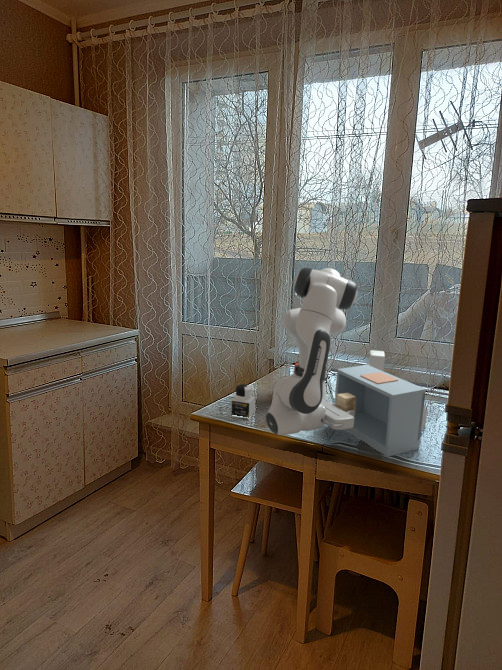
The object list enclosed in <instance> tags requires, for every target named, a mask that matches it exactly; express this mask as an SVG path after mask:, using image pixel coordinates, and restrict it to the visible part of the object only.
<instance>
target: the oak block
mask: <svg viewBox="0 0 502 670" xmlns="http://www.w3.org/2000/svg"><path fill="white" fill-rule="evenodd" d="M355 406H356V397H355V396H353V395H352V394H350V393H342V394H337V402H336V407H338V408H340V409H341V410H343V411H345V412H348V410H350V409H352V410H353V411H355ZM353 417H354V418H355V413H354V416H353ZM352 428H354V426H353V427H352ZM341 430H343V431H345V429H341Z"/></svg>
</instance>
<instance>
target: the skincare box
mask: <svg viewBox="0 0 502 670" xmlns="http://www.w3.org/2000/svg"><path fill="white" fill-rule="evenodd" d="M385 360H386V353H385V351H383V350H374V349H371V350H369V360H368V365H369V366H371V367H374V368H376V369H379V370H381V371H383V372H384V368H385Z"/></svg>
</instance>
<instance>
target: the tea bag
mask: <svg viewBox="0 0 502 670" xmlns="http://www.w3.org/2000/svg"><path fill="white" fill-rule="evenodd" d="M427 413H428V410H427V408H426V405H425V404H424V410H423V419H422V427H421V432H422V431H423V430H424V428H425V427H426V422H427Z"/></svg>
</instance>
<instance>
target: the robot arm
mask: <svg viewBox="0 0 502 670" xmlns="http://www.w3.org/2000/svg"><path fill="white" fill-rule="evenodd" d="M293 287H294V289H293V291H294V292H295V294H296V295H297V296H298V297H301V298H302V299H303V298H304V300H303V302H302V305H301V306H300V307H297V308H291V309H288V310H287V311H286V313H284V317H283V320H282V321H283V327H284V329H285V330H286V332H287V333H288V334H289V335H291V336H292V337H293V338H294V340H295V341H296V343H297V347H298V353H299V355H298V356H299V361H298V362H296V363H295V364H294V366H293V367H294V368H293V373H292V374H290V375H289V376H286V375H285V376H281V377H280V378H278V379H277V380H276V381H275V383H274V384H273V388H272V400H271V404H270V407H269V409H268V410H267V412H266V416H265V419H266V420H265V421H266V424H267V426H268V428H269V430H270V431H271V432H272V433H273V434H275V435H278V436H286V435H292V434H293V435H294V434H298V433H301V432H302V431H303V432H304V431H305V432H309V431H314V430H318V429H322V428H323V427H324V425H326V426H328V427H329V428H330V429H332V430H339V431H340V430H342V429H349V428H352V427H353V426H354V417H353V416H354V413H355V411H353V410H352V409H350V410H348V412H345V411H343V410H341V409H340V408H338V407H336V403H335V402H334V403H333V402H329V401H327V400H328V396H327V395H328V394H327V390H326V379H327V373H328V372H327V370H328V369H327V363H328V359H329V354H330V349H331V335H337V334H341V333H342V332H343V331H344V329H346V327H347V326H346V325H347V318H346V314H345V313H344V312H343V311H342V310H348V309H350V308H351V307H352V306H353V305H354V303H356V301H357V298H358V295H359V294H358V285H357V284H356V283H355V282H354V281H353V280H351V279H346V278H345V277H342V276H341V274H340V272H338V270H337V269H334V268H331V267H330V268H329V267H326V268H325V267H324V268H322V269H320V270H319V269H313V268H312V267H302V268H301V269H300V270H299V272H297V274H296V276H295V277H294V282H293Z"/></svg>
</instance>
